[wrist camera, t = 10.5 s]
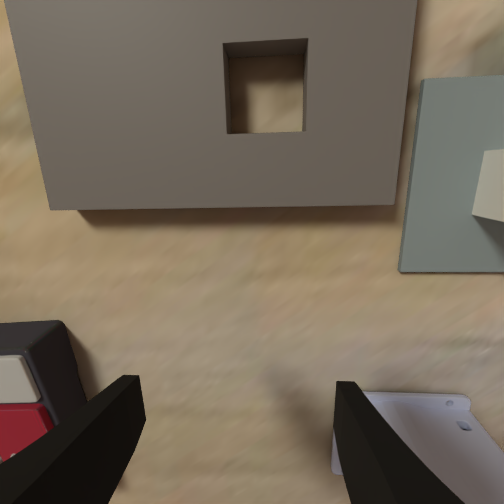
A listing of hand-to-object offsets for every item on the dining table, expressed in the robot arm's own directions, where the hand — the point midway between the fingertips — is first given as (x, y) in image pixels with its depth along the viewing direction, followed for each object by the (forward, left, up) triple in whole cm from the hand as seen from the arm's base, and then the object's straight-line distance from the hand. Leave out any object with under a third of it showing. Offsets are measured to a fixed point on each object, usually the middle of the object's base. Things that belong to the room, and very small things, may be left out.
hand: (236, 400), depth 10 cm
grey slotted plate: (+2, -12, -10) cm, 16 cm away
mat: (-15, -7, -10) cm, 19 cm away
